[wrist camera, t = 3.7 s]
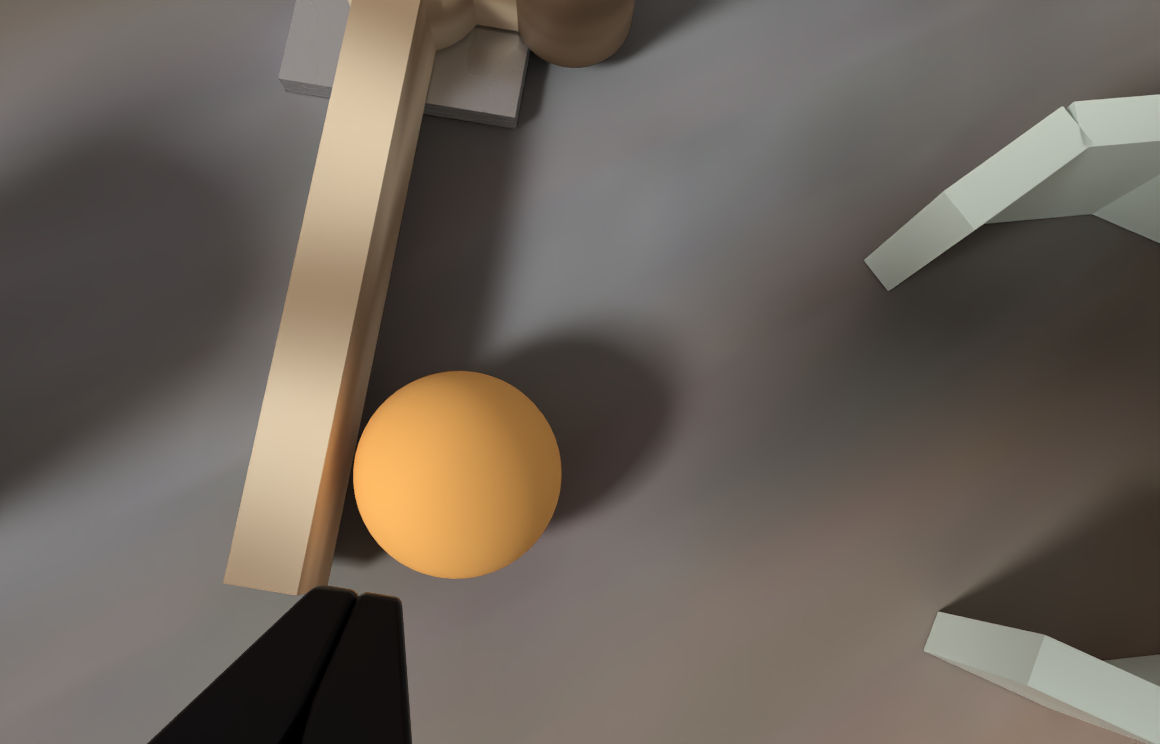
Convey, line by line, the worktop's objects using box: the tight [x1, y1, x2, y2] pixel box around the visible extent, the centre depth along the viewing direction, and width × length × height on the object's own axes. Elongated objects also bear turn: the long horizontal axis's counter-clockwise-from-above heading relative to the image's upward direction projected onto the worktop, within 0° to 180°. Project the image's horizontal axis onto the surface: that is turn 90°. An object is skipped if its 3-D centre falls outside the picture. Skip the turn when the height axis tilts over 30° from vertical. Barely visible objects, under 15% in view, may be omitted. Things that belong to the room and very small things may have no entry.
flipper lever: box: [223, 0, 635, 595], centre depth 16 cm, size 17×7×14 cm, turn 171°
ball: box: [353, 371, 562, 579], centre depth 21 cm, size 4×4×4 cm
